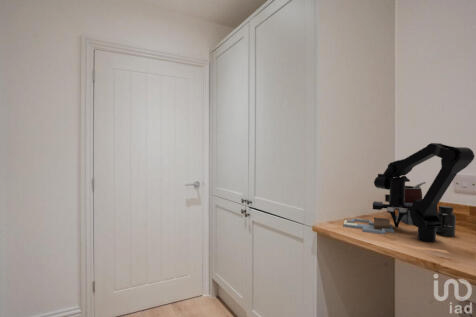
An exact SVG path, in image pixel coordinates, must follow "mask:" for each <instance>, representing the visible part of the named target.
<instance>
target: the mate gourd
mask: <svg viewBox="0 0 476 317" xmlns="http://www.w3.org/2000/svg"><path fill="white" fill-rule="evenodd" d="M426 183H427V182H426V181H423V182H420V183H418V184H415V185H413V186H412V185H405V203H413V202H414V200H422V199H423V190H422V187H421V186H423V185H424V184H426ZM396 210H397V211H398V209H396ZM397 216H398V215H396V221H397Z"/></svg>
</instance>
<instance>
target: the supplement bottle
mask: <svg viewBox="0 0 476 317" xmlns="http://www.w3.org/2000/svg"><path fill="white" fill-rule="evenodd" d="M453 212H454V207H453V206H448V205H439V206H438V211H437V214H436V215H437V216H438V217H439V219H440V220H441V221H442V225H441V227H436V235H437V236H440V237H441V236H442V237H445V238H446V237H448V238H449V237H451V238H452V237H455V236H456V222H457V221H456V220H457V216H456V215H455V213H453Z"/></svg>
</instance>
